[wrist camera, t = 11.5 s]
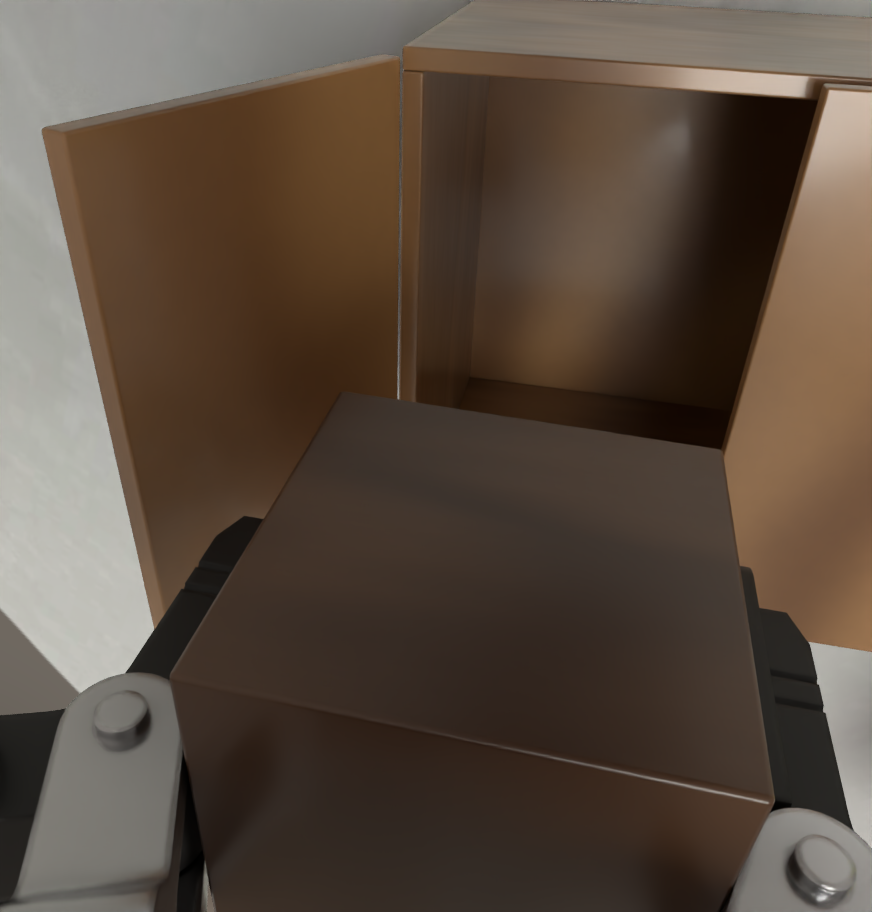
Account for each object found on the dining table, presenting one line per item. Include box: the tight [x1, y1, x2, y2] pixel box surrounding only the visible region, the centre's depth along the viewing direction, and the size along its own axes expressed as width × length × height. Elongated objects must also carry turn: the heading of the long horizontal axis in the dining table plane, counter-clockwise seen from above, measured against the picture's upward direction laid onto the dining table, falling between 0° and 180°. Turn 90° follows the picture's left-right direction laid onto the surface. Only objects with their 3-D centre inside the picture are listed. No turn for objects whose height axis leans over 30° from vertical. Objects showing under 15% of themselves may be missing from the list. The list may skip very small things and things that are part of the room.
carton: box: [399, 0, 872, 652], centre depth 20 cm, size 14×12×10 cm
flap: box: [42, 54, 400, 629], centre depth 15 cm, size 7×12×1 cm
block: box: [170, 391, 775, 912], centre depth 10 cm, size 5×5×5 cm
